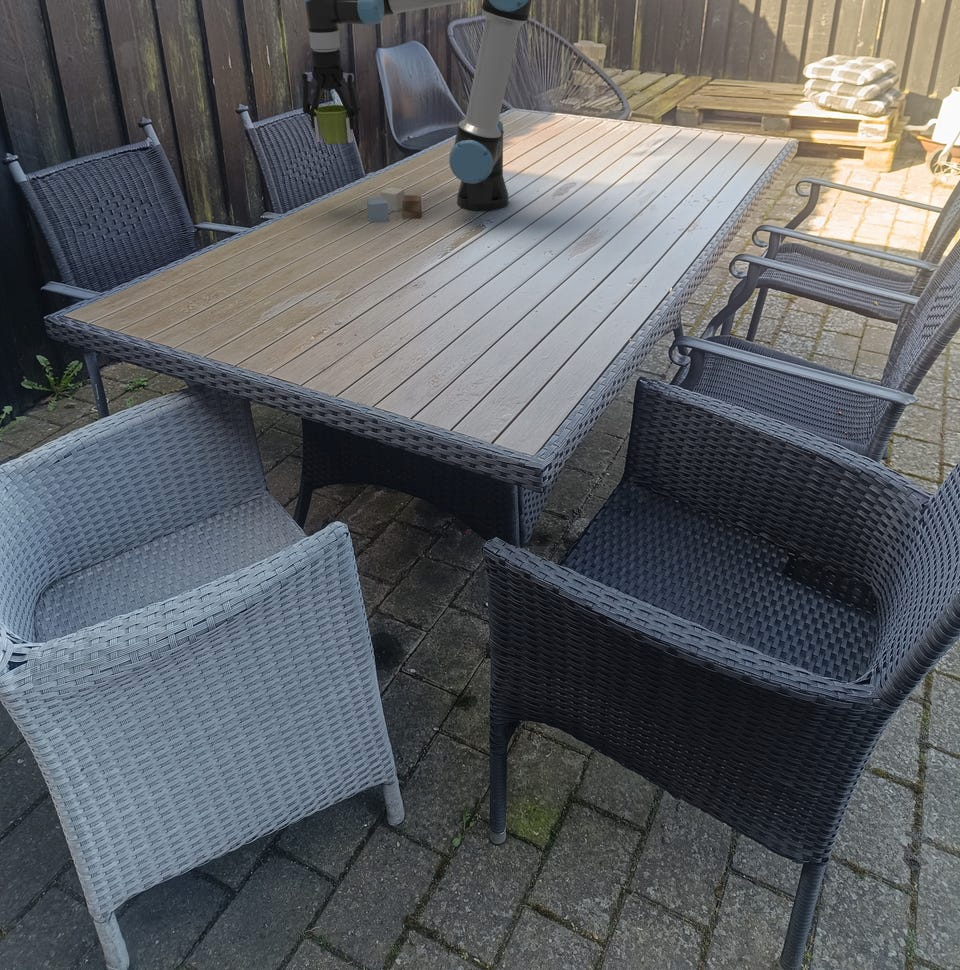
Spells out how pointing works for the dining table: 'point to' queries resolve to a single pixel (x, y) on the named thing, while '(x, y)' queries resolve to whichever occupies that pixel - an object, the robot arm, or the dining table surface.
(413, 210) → the walnut block
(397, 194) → the cream block
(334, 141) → the plant pot
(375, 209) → the slate blue block
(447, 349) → the dining table surface
